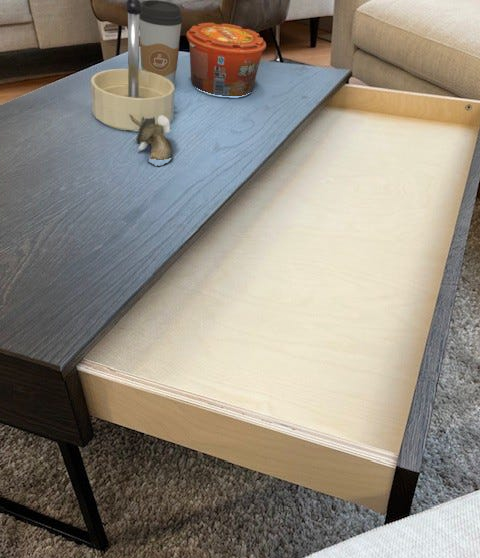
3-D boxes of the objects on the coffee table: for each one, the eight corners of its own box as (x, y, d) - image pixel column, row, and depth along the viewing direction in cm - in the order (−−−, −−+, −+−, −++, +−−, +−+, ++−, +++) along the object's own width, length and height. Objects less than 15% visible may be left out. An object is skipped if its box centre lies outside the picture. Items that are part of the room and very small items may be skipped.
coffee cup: (137, 91, 121) (137, 9, 111) (137, 76, 127) (138, -3, 118) (179, 95, 123) (184, 14, 113) (178, 80, 129) (182, 2, 119)
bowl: (80, 123, 106) (78, 88, 102) (107, 95, 117) (107, 63, 114) (161, 139, 106) (162, 105, 102) (181, 109, 117) (182, 78, 113)
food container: (275, 94, 131) (282, 41, 124) (221, 107, 121) (227, 51, 114) (222, 69, 138) (227, 18, 131) (167, 80, 128) (169, 25, 121)
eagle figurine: (116, 135, 102) (125, 150, 95) (138, 98, 101) (149, 110, 93) (155, 159, 106) (166, 175, 99) (177, 124, 105) (190, 137, 98)
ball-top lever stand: (114, 115, 109) (112, -2, 97) (123, 105, 113) (123, -9, 101) (143, 121, 109) (145, 4, 97) (151, 110, 113) (154, -3, 101)
